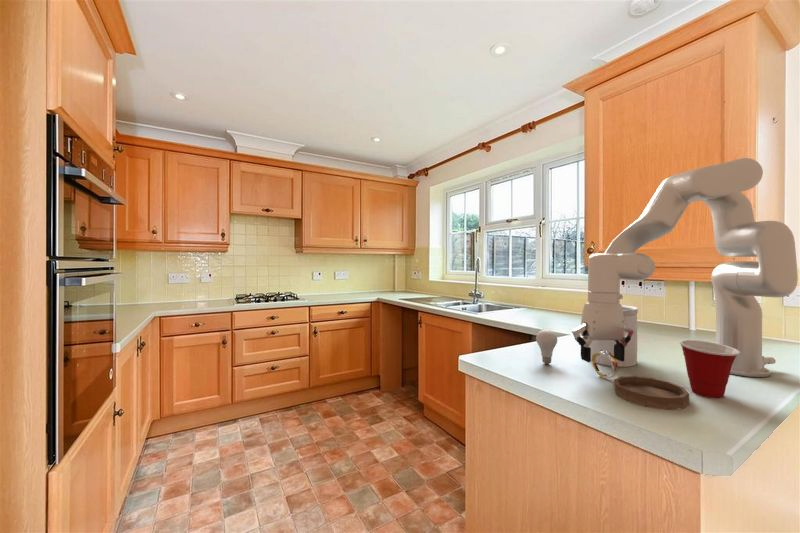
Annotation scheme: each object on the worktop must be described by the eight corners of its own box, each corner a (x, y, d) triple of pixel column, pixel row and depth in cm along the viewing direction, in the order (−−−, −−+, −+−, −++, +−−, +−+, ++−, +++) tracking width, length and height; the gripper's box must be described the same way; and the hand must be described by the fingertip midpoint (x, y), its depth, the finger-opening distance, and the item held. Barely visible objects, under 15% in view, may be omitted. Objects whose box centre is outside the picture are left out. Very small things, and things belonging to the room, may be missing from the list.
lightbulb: (558, 363, 108) (558, 328, 108) (555, 368, 103) (555, 332, 103) (538, 360, 112) (538, 326, 111) (534, 365, 106) (534, 330, 106)
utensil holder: (579, 361, 110) (579, 307, 109) (589, 352, 121) (589, 302, 121) (634, 371, 100) (634, 311, 100) (640, 359, 111) (640, 305, 111)
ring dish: (652, 384, 89) (652, 375, 89) (705, 407, 75) (704, 396, 75) (601, 387, 88) (601, 377, 88) (645, 410, 74) (645, 399, 74)
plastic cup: (729, 407, 75) (729, 353, 75) (671, 391, 84) (671, 343, 84) (747, 397, 80) (747, 346, 80) (690, 383, 90) (690, 337, 90)
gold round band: (619, 382, 91) (619, 352, 91) (609, 383, 91) (609, 353, 90) (599, 373, 98) (598, 346, 98) (589, 374, 97) (589, 346, 97)
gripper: (622, 297, 98) (621, 356, 99) (565, 297, 97) (564, 357, 97) (643, 299, 91) (642, 363, 91) (582, 300, 89) (581, 365, 90)
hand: (602, 360), depth 94 cm, fingers open, 9 cm apart
